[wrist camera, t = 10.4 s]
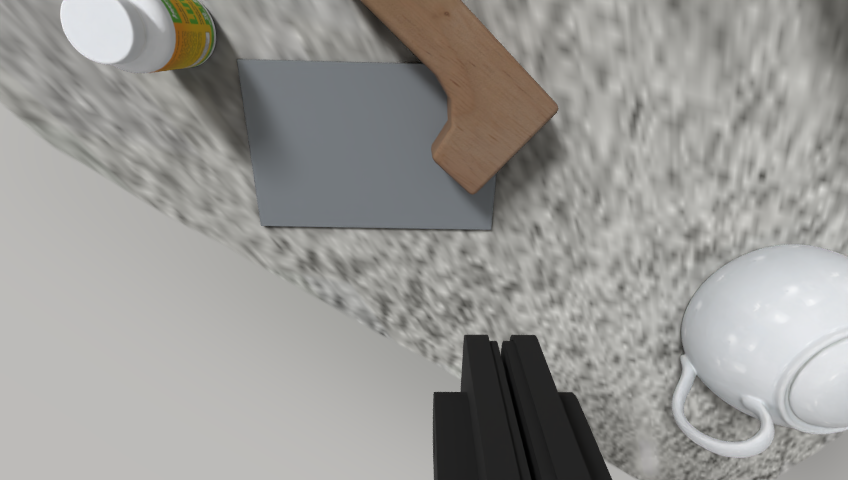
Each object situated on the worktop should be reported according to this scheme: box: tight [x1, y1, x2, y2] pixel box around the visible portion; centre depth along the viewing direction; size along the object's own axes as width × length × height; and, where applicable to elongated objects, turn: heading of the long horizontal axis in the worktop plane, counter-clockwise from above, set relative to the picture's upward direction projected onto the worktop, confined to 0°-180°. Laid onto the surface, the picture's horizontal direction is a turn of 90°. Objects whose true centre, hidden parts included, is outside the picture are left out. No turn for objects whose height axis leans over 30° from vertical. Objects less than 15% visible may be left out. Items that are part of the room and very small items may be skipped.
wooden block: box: [360, 0, 558, 195], centre depth 32 cm, size 9×4×18 cm
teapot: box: [672, 244, 848, 458], centre depth 39 cm, size 19×18×14 cm
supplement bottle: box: [60, 0, 216, 73], centre depth 29 cm, size 5×5×10 cm
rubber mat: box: [237, 59, 496, 230], centre depth 37 cm, size 21×14×1 cm, turn 89°
